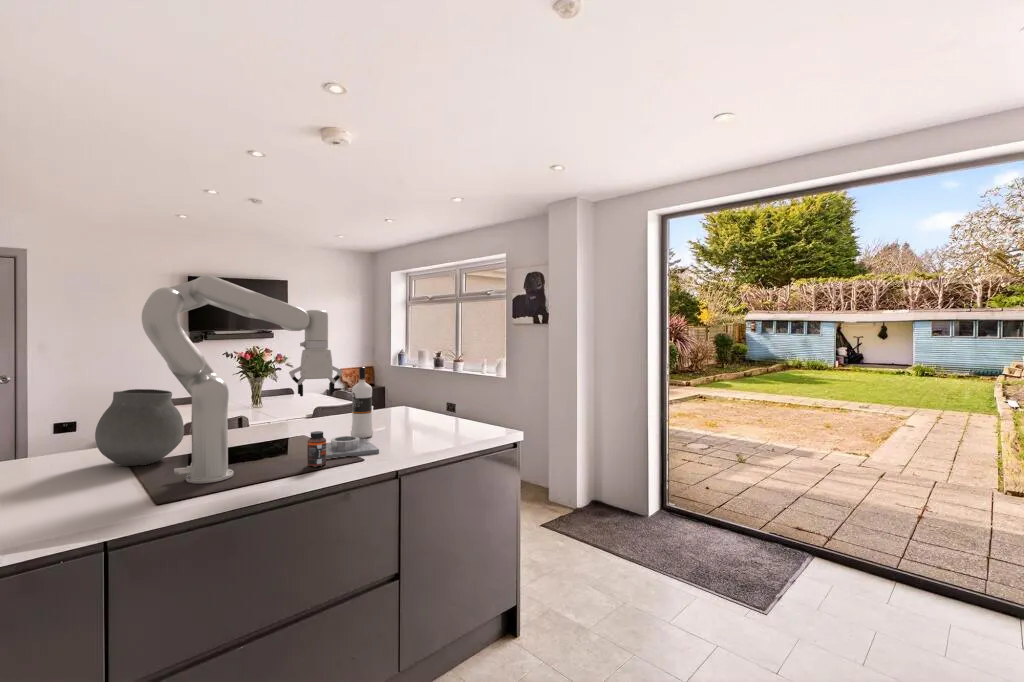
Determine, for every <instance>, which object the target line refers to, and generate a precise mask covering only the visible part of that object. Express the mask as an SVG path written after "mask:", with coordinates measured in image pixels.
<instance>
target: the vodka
mask: <svg viewBox="0 0 1024 682" xmlns="http://www.w3.org/2000/svg"><path fill="white" fill-rule="evenodd" d="M358 371H359V372H358V382H357V383H356V384H355V385H353V386H352V388H351V393H352V394H351V397H352V398H351V399H352V403H351V405H352V406H351V407H352V409H351V410H352V411H351V412H352V413H351V416H352V419H351V430H350V436H355V437H359V439H368V438H367V437H369V438H371V437H372V436H373V435H374V429H373V419H372V417H373V409H372V407H373V400H372V399H373V398H372V397H373V388H372V386H371V385H370V384H369V383H367V382H366V366H360V367H358Z"/></svg>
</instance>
